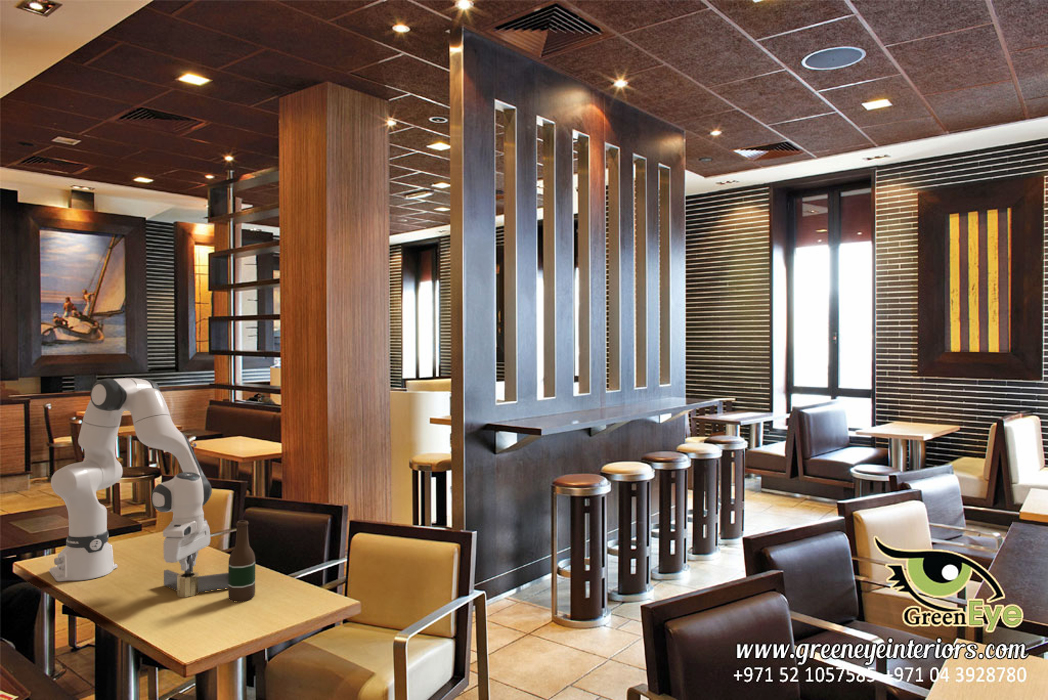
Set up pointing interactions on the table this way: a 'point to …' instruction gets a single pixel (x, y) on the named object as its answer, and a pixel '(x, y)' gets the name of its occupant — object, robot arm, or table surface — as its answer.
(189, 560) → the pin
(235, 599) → the beer bottle
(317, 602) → the table surface
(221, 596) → the table surface
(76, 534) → the robot arm
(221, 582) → the hinge
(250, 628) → the table surface
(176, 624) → the table surface
